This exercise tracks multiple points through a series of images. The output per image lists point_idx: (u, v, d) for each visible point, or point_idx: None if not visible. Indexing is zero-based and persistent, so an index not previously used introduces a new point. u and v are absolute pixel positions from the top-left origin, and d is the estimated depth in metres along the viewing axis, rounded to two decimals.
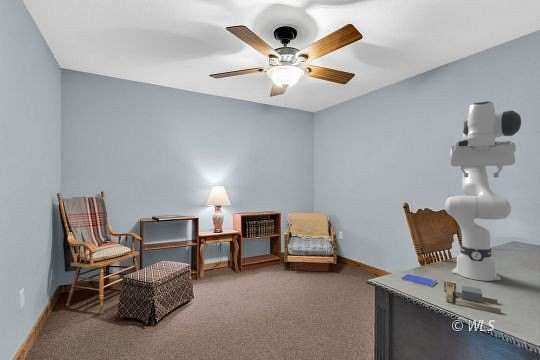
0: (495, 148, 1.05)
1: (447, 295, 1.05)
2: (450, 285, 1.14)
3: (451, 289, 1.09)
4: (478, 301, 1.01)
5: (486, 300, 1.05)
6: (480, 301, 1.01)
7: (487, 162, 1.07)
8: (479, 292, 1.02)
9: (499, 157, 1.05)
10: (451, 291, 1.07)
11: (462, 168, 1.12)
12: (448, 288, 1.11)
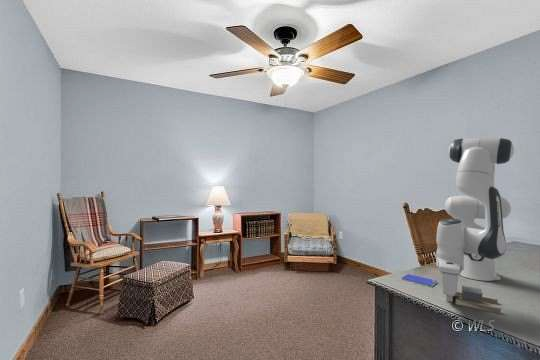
0: None
1: None
2: None
3: None
4: (478, 301, 1.01)
5: (486, 300, 1.05)
6: (480, 301, 1.01)
7: None
8: (479, 292, 1.02)
9: None
10: None
11: None
12: None
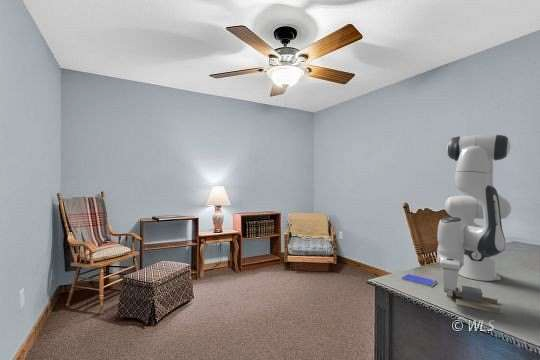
0: None
1: None
2: None
3: None
4: (478, 301, 1.01)
5: (486, 300, 1.05)
6: (480, 301, 1.01)
7: None
8: (479, 292, 1.02)
9: None
10: None
11: None
12: None
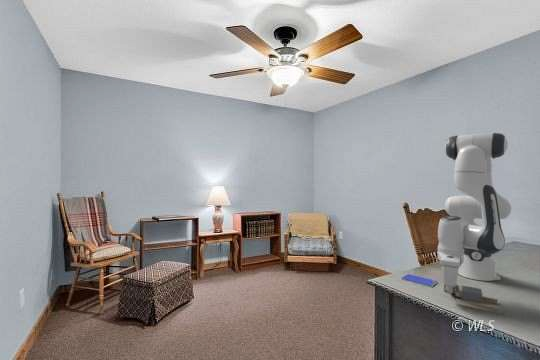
0: None
1: None
2: None
3: None
4: (478, 301, 1.01)
5: (486, 300, 1.05)
6: (480, 301, 1.01)
7: None
8: (479, 292, 1.02)
9: None
10: None
11: None
12: None
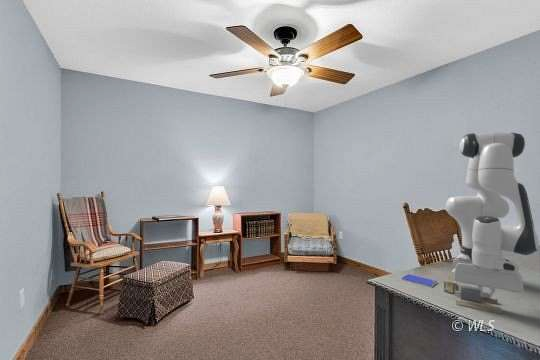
0: None
1: (448, 286, 1.14)
2: (450, 277, 1.23)
3: None
4: (477, 300, 1.01)
5: (486, 300, 1.05)
6: (479, 300, 1.01)
7: None
8: (478, 291, 1.03)
9: None
10: None
11: None
12: (448, 280, 1.20)
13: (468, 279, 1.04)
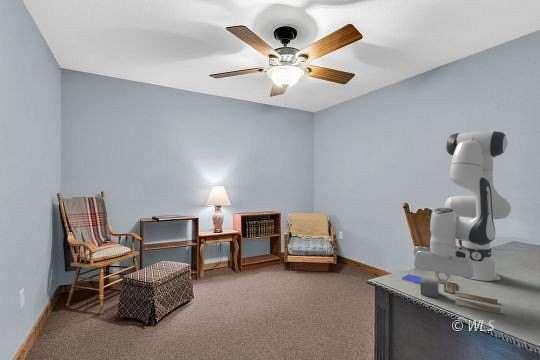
0: None
1: (448, 286, 1.14)
2: (450, 277, 1.23)
3: None
4: (434, 291, 1.09)
5: (486, 300, 1.05)
6: (436, 291, 1.09)
7: None
8: (435, 282, 1.10)
9: None
10: None
11: None
12: (448, 280, 1.20)
13: (426, 266, 1.12)
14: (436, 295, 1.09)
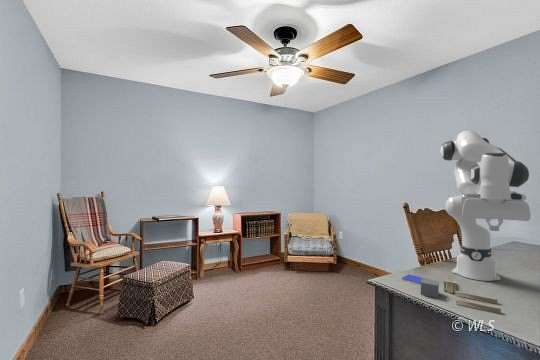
0: None
1: (448, 286, 1.14)
2: (450, 277, 1.23)
3: None
4: (434, 292, 1.09)
5: (486, 300, 1.05)
6: (436, 292, 1.09)
7: None
8: (436, 283, 1.10)
9: None
10: None
11: None
12: (448, 280, 1.20)
13: (476, 213, 1.08)
14: (436, 296, 1.09)
